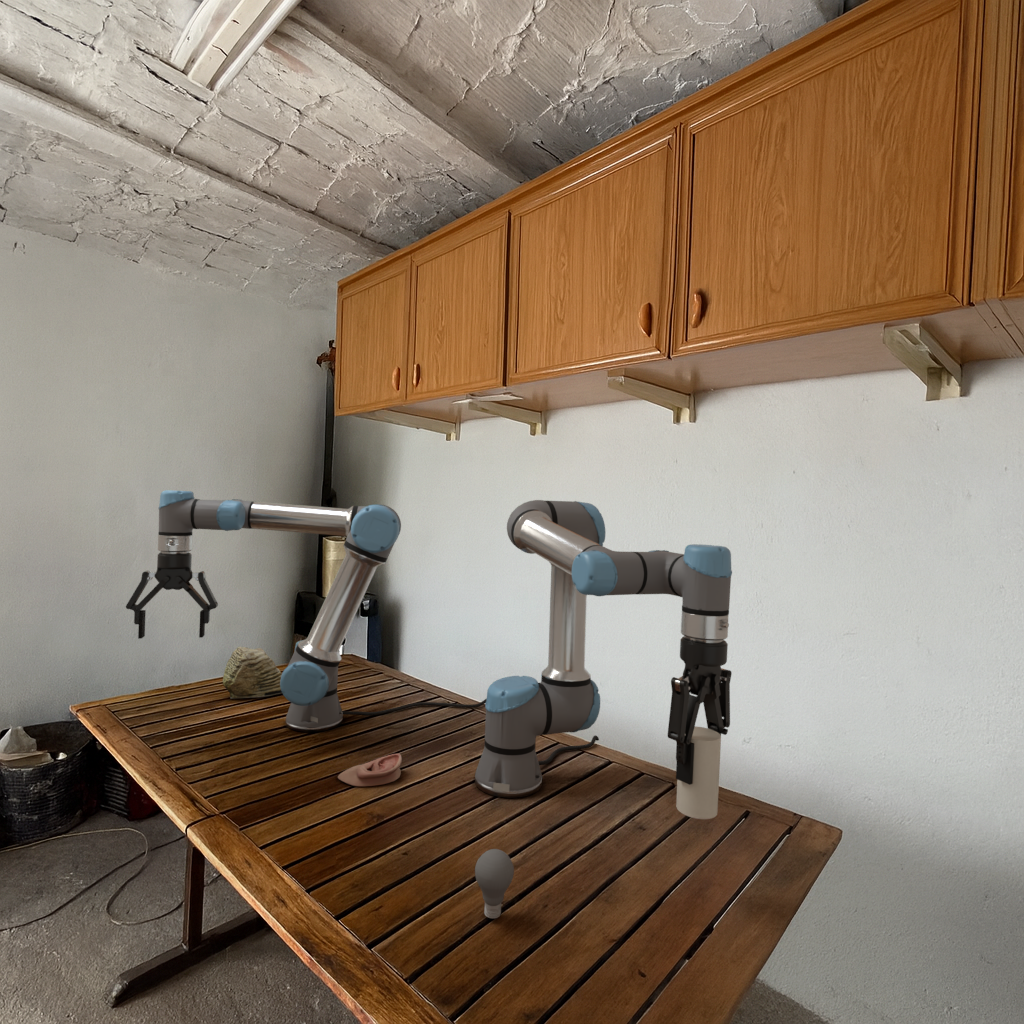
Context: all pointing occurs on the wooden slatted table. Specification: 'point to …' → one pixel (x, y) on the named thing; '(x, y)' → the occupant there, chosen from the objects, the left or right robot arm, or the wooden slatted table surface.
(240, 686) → the fossil
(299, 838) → the wooden slatted table surface
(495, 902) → the light bulb
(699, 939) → the wooden slatted table surface
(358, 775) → the anatomical model
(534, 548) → the right robot arm
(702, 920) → the wooden slatted table surface
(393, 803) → the wooden slatted table surface
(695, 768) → the cylinder
